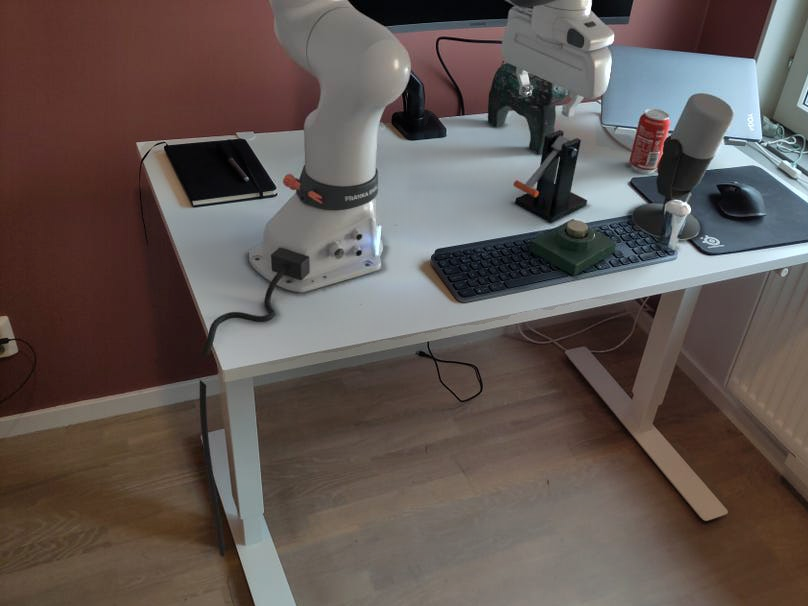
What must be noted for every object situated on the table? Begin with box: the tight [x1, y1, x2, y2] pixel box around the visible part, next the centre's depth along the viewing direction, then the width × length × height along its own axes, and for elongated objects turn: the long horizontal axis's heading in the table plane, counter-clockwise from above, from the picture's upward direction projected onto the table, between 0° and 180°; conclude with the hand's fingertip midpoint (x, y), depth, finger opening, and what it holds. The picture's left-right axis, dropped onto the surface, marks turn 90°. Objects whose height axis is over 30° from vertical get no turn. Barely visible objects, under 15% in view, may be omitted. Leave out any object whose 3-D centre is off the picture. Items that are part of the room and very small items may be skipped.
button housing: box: [528, 218, 617, 277], centre depth 145 cm, size 12×10×4 cm
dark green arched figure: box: [487, 60, 569, 155], centre depth 173 cm, size 20×6×20 cm, turn 39°
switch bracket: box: [514, 129, 588, 224], centre depth 154 cm, size 11×9×14 cm
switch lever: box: [513, 135, 571, 197], centre depth 150 cm, size 12×5×2 cm
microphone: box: [631, 92, 735, 242], centre depth 150 cm, size 13×13×25 cm
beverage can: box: [629, 108, 671, 174], centre depth 172 cm, size 6×6×12 cm
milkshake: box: [657, 192, 692, 252], centre depth 148 cm, size 5×5×10 cm
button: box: [566, 219, 589, 239], centre depth 144 cm, size 4×4×2 cm
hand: (546, 105), depth 138 cm, fingers open, 8 cm apart
